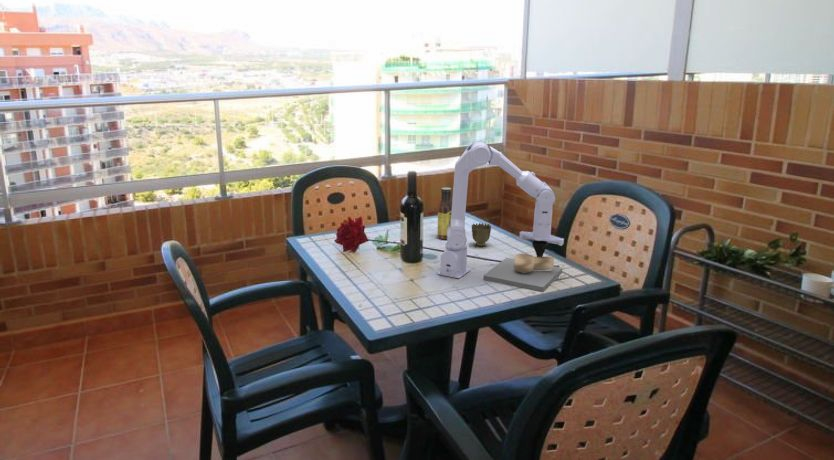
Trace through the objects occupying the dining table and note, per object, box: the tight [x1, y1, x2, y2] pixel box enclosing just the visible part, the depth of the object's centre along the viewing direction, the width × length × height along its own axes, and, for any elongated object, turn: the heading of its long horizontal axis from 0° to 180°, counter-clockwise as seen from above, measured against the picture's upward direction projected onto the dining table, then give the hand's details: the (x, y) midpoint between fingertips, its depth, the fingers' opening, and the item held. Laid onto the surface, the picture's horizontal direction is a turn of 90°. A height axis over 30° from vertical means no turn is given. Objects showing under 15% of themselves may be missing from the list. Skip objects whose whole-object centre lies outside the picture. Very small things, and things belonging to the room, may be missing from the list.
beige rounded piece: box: [514, 253, 555, 272], centre depth 201 cm, size 13×6×4 cm, turn 92°
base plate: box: [483, 257, 563, 293], centre depth 202 cm, size 20×20×2 cm
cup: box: [471, 222, 492, 248], centre depth 231 cm, size 8×7×8 cm
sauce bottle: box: [437, 187, 453, 241], centre depth 239 cm, size 7×6×20 cm
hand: (539, 261), depth 204 cm, fingers closed, pressing on beige rounded piece
